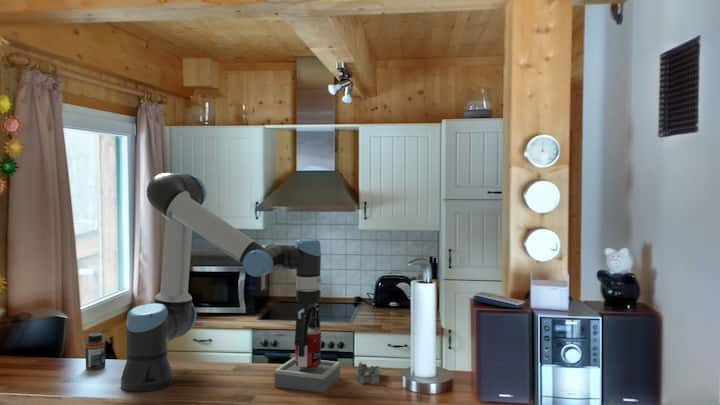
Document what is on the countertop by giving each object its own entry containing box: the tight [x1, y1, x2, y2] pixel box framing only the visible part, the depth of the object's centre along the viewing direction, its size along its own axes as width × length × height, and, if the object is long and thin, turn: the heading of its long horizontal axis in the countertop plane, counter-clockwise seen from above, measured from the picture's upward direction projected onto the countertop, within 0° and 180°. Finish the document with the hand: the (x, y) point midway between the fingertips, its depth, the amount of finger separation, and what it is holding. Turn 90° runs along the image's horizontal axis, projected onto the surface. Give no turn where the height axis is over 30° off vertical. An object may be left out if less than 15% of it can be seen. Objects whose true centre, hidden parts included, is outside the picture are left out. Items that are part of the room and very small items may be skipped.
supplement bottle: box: [85, 332, 106, 371], centre depth 188 cm, size 6×6×11 cm
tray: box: [274, 356, 341, 394], centre depth 176 cm, size 16×14×5 cm
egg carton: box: [355, 361, 382, 385], centre depth 180 cm, size 11×8×4 cm
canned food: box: [294, 327, 322, 368], centre depth 176 cm, size 8×8×11 cm
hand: (307, 362), depth 176 cm, fingers closed on canned food, 8 cm apart
